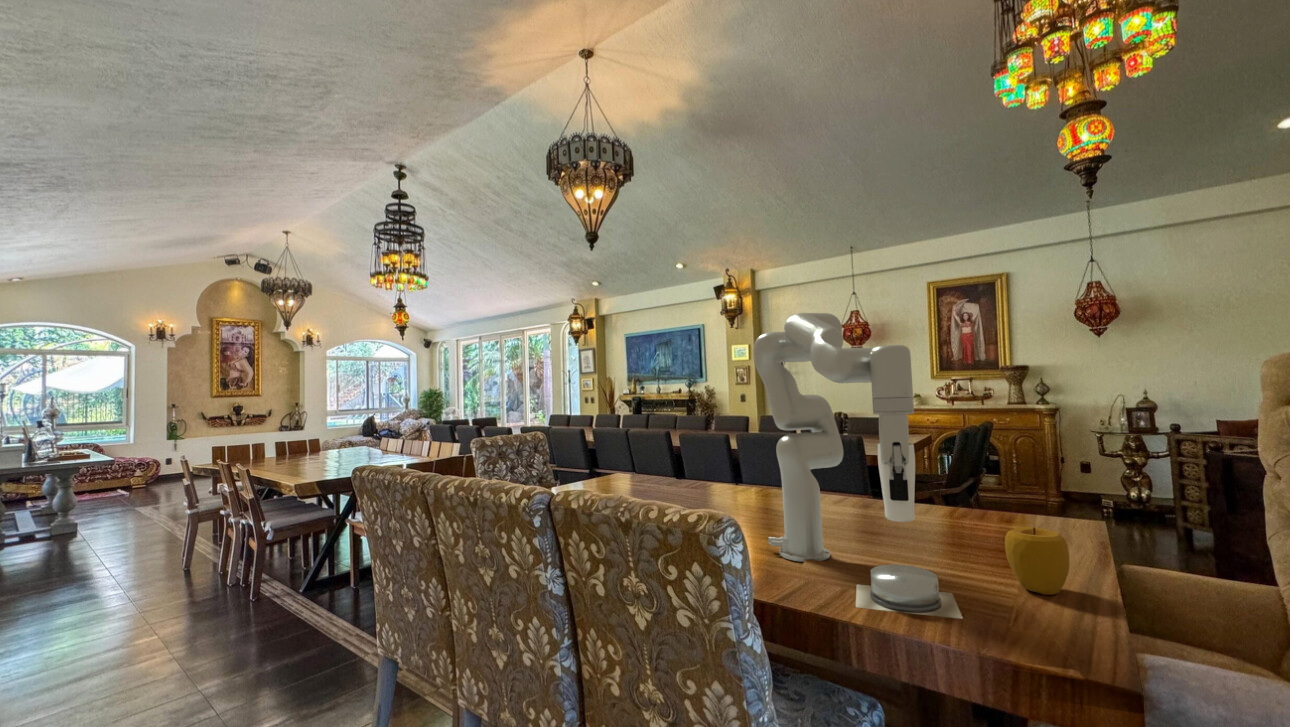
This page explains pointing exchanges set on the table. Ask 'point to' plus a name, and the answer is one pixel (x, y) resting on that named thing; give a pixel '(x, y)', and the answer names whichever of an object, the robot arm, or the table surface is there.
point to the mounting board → (946, 610)
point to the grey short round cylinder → (905, 588)
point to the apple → (1038, 559)
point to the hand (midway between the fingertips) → (898, 496)
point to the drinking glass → (893, 509)
